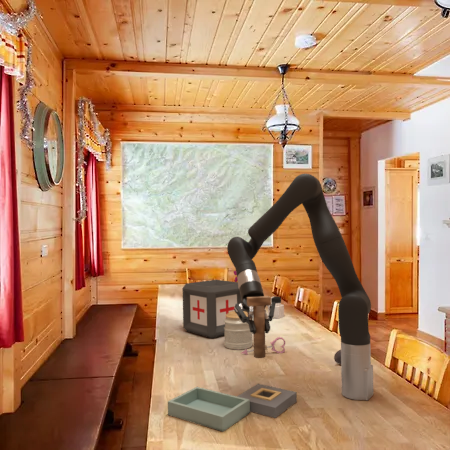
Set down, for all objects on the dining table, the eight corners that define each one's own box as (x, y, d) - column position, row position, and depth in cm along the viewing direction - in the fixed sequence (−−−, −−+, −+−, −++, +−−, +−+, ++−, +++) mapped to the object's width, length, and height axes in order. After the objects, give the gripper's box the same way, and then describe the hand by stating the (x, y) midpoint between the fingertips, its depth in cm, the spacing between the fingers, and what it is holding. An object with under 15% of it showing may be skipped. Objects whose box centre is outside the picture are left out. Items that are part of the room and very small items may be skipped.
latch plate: (296, 401, 141) (296, 390, 141) (275, 418, 130) (275, 406, 130) (258, 392, 149) (258, 382, 149) (235, 407, 138) (234, 396, 138)
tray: (250, 413, 134) (249, 399, 133) (222, 431, 122) (222, 417, 122) (197, 398, 145) (196, 386, 145) (167, 414, 133) (167, 401, 133)
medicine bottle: (284, 316, 265) (284, 296, 265) (279, 319, 259) (278, 298, 259) (273, 315, 269) (273, 295, 269) (268, 317, 263) (267, 297, 263)
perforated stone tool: (337, 367, 173) (336, 349, 173) (331, 363, 178) (330, 346, 178) (372, 364, 176) (372, 346, 176) (365, 360, 181) (365, 342, 181)
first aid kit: (211, 340, 216) (210, 288, 216) (180, 331, 235) (179, 283, 235) (248, 331, 233) (247, 282, 233) (217, 323, 252) (216, 278, 251)
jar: (250, 350, 197) (249, 310, 197) (221, 349, 200) (220, 310, 200) (254, 342, 210) (253, 305, 210) (227, 341, 213) (226, 304, 213)
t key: (268, 353, 142) (267, 295, 141) (272, 357, 138) (271, 297, 138) (247, 355, 140) (246, 296, 140) (250, 359, 137) (249, 298, 136)
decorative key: (241, 361, 192) (286, 351, 194) (241, 362, 191) (287, 352, 193) (238, 345, 192) (283, 336, 194) (239, 346, 191) (284, 336, 193)
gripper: (230, 280, 145) (240, 327, 133) (272, 278, 148) (285, 324, 136) (227, 294, 150) (236, 340, 138) (268, 292, 153) (280, 337, 141)
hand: (261, 332), depth 137 cm, fingers closed on t key, 3 cm apart
